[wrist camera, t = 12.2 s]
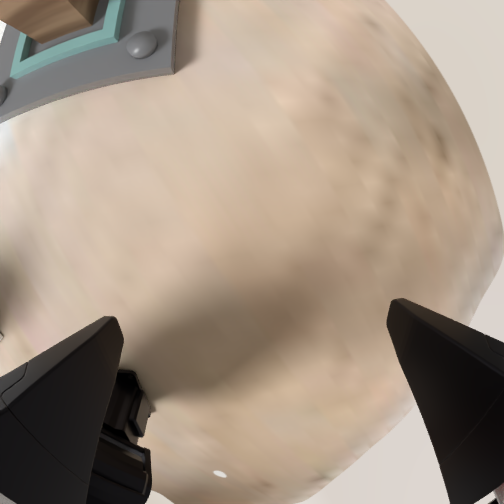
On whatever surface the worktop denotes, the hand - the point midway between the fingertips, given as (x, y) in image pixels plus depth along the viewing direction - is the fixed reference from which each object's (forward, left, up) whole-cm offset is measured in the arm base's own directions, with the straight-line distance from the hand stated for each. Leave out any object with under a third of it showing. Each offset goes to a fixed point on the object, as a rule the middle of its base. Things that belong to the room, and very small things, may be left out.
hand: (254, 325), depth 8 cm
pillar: (-13, +20, -10) cm, 26 cm away
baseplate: (-13, +20, -12) cm, 27 cm away
